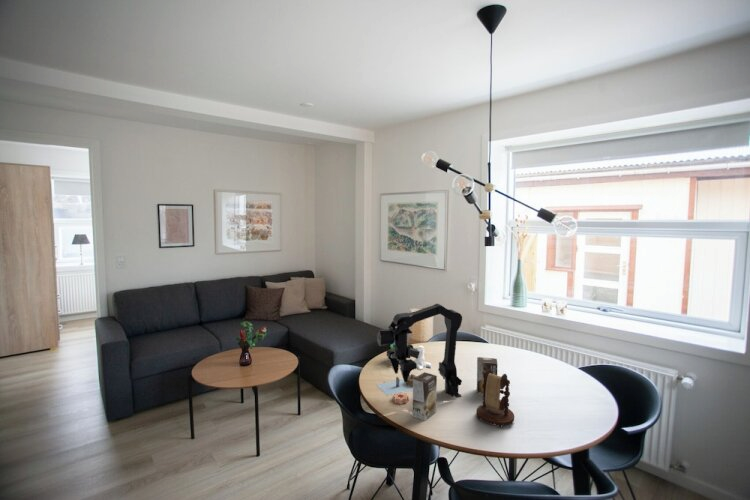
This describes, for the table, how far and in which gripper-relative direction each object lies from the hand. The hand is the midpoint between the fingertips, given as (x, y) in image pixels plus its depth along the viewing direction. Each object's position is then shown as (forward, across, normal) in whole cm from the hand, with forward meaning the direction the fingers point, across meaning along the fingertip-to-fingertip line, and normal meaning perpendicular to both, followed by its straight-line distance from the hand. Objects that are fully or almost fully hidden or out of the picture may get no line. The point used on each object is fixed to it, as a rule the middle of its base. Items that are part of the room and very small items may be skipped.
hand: (400, 377), depth 163 cm
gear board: (+12, +12, -7) cm, 18 cm away
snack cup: (+12, +42, -20) cm, 48 cm away
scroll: (+12, -26, -30) cm, 42 cm away
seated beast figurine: (+12, +30, -27) cm, 42 cm away
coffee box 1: (+12, -13, -5) cm, 18 cm away
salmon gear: (+12, 0, 0) cm, 12 cm away
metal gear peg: (+10, +12, -4) cm, 17 cm away
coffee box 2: (+12, -8, -41) cm, 43 cm away
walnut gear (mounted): (+10, +12, -12) cm, 21 cm away
